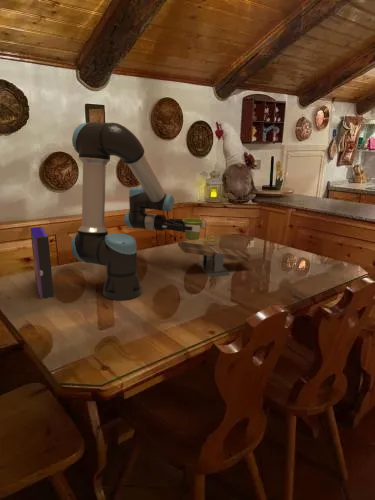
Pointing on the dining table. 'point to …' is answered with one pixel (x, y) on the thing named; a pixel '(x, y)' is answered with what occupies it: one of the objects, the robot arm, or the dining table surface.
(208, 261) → the beam stand
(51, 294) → the cereal box
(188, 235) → the plant pot
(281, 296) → the dining table surface
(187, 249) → the balance beam
